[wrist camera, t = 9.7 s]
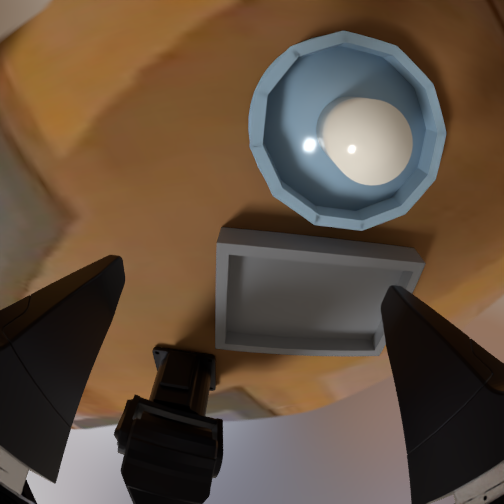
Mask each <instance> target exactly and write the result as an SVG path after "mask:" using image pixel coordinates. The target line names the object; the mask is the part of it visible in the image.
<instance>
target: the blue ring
mask: <svg viewBox="0 0 504 504" xmlns="http://www.w3.org/2000/svg"><path fill="white" fill-rule="evenodd" d="M346 96H353V97H361V98H369V99H376V100H381V101H384V102H387V103H389V104H391V105H392V106H394V107H395V108H397V109H398V110H399V111H400V112H401V113H402V114H403V116H404V117H405V119H406V120H407V122H408V124H409V126H410V129H411V133H412V139H413V147H412V153H411V157H410V159H409V162H408V164H407V165H406V167H405V169H404V170H403V171H402V172H401V173H400V174H399V175H398V176H397V177H396V178H394V179H393V180H391V181H389V182H387V183H384V184H381V185H364V184H360V183H357V182H355V181H353V180H351V179H350V178H348V177H347V176H346V175H345V174H344V173H343V172H342V171H341V170H340V169H339V168H338V167H337V166H336V164H335V163H334V162H333V161H332V160H331V159H330V158H329V157H328V156H327V155H326V153H325V152H324V151H323V150H322V148H321V146H320V144H319V142H318V139H317V134H316V126H317V120H318V117H319V115H320V113H321V111H322V110H323V109H324V107H325V106H326V105H327V104H329V103H330V102H331V101H333V100H335V99H337V98H340V97H346ZM249 138H250V146H249V147H250V149H251V151H252V153H253V155H254V158H255V160H256V163H257V165H258V168H259V169H260V171H261V173H262V175H263V176H264V178H265V180H266V182H267V184H268V186H269V188H270V191H271V193H272V195H273V196H274V197H275V198H277V199H278V200H280V201H281V202H283V203H284V204H286V205H287V206H288V207H290V208H291V209H293V210H294V211H295V212H297V213H298V214H300V215H301V216H303V217H304V218H305V219H307V220H308V221H309V222H311V223H312V224H314V225H318V226H327V227H335V228H343V229H351V230H359V231H363V230H366V229H368V228H371V227H374V226H376V225H379V224H381V223H384V222H387V221H389V220H392V219H394V218H397V217H399V216H402V215H405V214H406V213H407V212H408V211H409V210H410V208H411V207H412V206H413V205H414V204H415V203H416V202H417V201H418V199H419V198H420V197H421V196H422V195H423V194H424V193H425V191H426V190H427V189H428V188H429V187H430V186H431V184H432V183H433V182H434V181H435V180H436V176H437V172H438V168H439V164H440V160H441V156H442V152H443V147H444V143H445V138H446V129H445V124H444V120H443V116H442V112H441V109H440V105H439V101H438V98H437V94H436V91H435V88H434V84H433V83H432V82H431V81H430V80H429V79H428V78H427V76H426V75H425V74H424V73H423V72H422V71H421V70H420V69H419V68H418V67H417V66H416V65H415V64H414V63H413V61H412V60H411V59H410V58H409V57H408V56H407V55H406V54H405V53H404V52H403V51H402V50H401V49H399V48H398V47H397V46H396V45H393V44H390V43H387V42H384V41H380V40H377V39H374V38H370V37H367V36H363V35H360V34H356V33H352V32H348V31H344V30H343V31H340V32H336V33H332V34H329V35H324V36H319V37H315V38H311V39H308V40H306V41H303V42H301V43H298V44H296V45H293V46H290V47H289V48H288V50H287V51H285V52H284V53H283V54H282V55H280V56H279V57H278V58H277V59H276V60H275V61H274V62H273V63H272V64H271V65H270V66H269V67H268V69H267V70H266V71H265V73H264V74H263V76H262V77H261V79H260V81H259V83H258V85H257V87H256V89H255V92H254V95H253V98H252V101H251V105H250V112H249Z"/></svg>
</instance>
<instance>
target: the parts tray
mask: <svg viewBox="0 0 504 504" xmlns="http://www.w3.org/2000/svg"><path fill="white" fill-rule="evenodd" d="M425 264H426V263H425V262H424V261H423V259H422V258H421V257H420V255H419V254H418V252H417V251H416V250H415V249H414V248H410V247H402V246H394V245H386V244H378V243H370V242H361V241H352V240H344V239H335V238H326V237H317V236H307V235H298V234H288V233H278V232H268V231H258V230H248V229H237V228H226V227H221V230H220V233H219V237H218V240H217V252H216V307H215V349H223V350H233V351H244V352H255V353H269V354H285V355H307V356H379V355H380V353H381V352H382V350H383V348H384V346H385V345H386V342H385V335H384V328H383V322H382V316H381V303H382V301H383V299H384V296H385V294H386V292H387V290H388V288H389V286H391V285H397V286H402V287H403V288H405V289H406V290H407V291H409V292H410V293H413V291H414V288H415V286H416V284H417V282H418V280H419V277H420V275H421V273H422V271H423V268H424V266H425Z"/></svg>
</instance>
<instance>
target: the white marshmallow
mask: <svg viewBox="0 0 504 504" xmlns="http://www.w3.org/2000/svg"><path fill="white" fill-rule="evenodd" d="M316 134H317V139H318V142H319V144H320V146H321V148H322V150H323V151H324V152H325V153H326V155H327V156H328V157H329V158H330V159H331V160H332V161H333V162H334V163H335V164H336V166H337V167H338V168H339V169H340V170H341V171H342V172H343V173H344V174H345V175H346V176H347V177H348V178H350V179H351V180H353V181H355V182H357V183H360V184H364V185H381V184H384V183H387V182H389V181H391V180H393V179H394V178H396V177H397V176H398V175H399V174H400V173H401V172H402V171H403V170H404V169H405V167H406V165H407V164H408V162H409V159H410V157H411V153H412V147H413V139H412V133H411V129H410V126H409V124H408V122H407V120H406V119H405V117H404V116H403V114H402V113H401V112H400V111H399V110H398V109H397V108H395V107H394V106H392V105H391V104H389V103H387V102H384V101H381V100H376V99H369V98H361V97H353V96H346V97H340V98H337V99H335V100H333V101H331V102H330V103H329V104H327V105H326V106H325V107H324V109H323V110H322V111H321V113H320V115H319V117H318V120H317V126H316Z"/></svg>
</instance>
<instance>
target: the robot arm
mask: <svg viewBox="0 0 504 504" xmlns="http://www.w3.org/2000/svg"><path fill="white" fill-rule="evenodd" d="M124 284H125V273H124V266H123V260H122V258H121V257H120V256H116V255H108V256H106V257H104V258H102V259H100V260H98V261H96V262H94V263H92V264H90V265H88V266H86V267H84V268H82V269H79V270H77V271H75V272H73V273H71V274H69V275H67V276H65V277H64V278H62V279H60V280H58V281H56V282H54V283H52V284H50V285H48V286H46V287H44V288H42V289H40V290H38V291H37V292H35V293H33V294H31V296H30V295H29V296H27V297H25V298H23V299H22V300H20V301H18V302H16V303H14V304H12V305H10V306H8V307H6V308H4V309H2V310H0V504H37V503H36V500H35V498H34V496H33V494H32V492H31V490H30V487H29V485H28V483H27V480H26V477H27V474H28V471H29V470H30V471H32V472H34V473H36V474H38V475H39V476H41V477H43V478H45V479H47V480H49V481H51V482H53V483H56V480H57V477H58V473H59V469H60V465H61V461H62V457H63V454H64V450H65V447H66V443H67V439H68V437H69V433H70V430H71V426H72V423H73V420H74V417H75V414H76V411H77V408H78V405H79V402H80V400H81V397H82V394H83V391H84V389H85V386H86V383H87V380H88V378H89V375H90V373H91V370H92V367H93V365H94V362H95V360H96V357H97V355H98V353H99V350H100V348H101V345H102V343H103V341H104V338H105V336H106V334H107V331H108V329H109V327H110V324H111V322H112V319H113V317H114V314H115V311H116V307H117V304H118V301H119V298H120V295H121V292H122V290H123V287H124ZM381 316H382V322H383V328H384V335H385V342H386V347H387V352H388V356H389V360H390V364H391V369H392V373H393V378H394V382H395V387H396V392H397V397H398V401H399V407H400V412H401V418H402V424H403V430H404V436H405V443H406V450H407V454H408V455H407V459H408V468H409V477H410V488H411V501H412V504H430V503H432V502H435V501H438V500H440V499H443V498H445V497H448V496H450V495H454V500H455V504H504V363H502V362H501V361H499V360H498V359H497V358H495V357H494V356H493V355H491V354H490V353H489V352H487V351H486V350H485V349H484V348H482V347H481V346H480V345H478V344H477V343H476V342H475V341H473V340H472V339H470V338H469V337H468V336H467V335H466V334H465V333H463V332H462V331H461V330H459V329H458V328H457V327H456V326H454V325H453V324H452V323H450V322H449V321H448V320H447V319H445V318H444V317H443V316H441V315H440V314H439V313H437V312H436V311H435V310H433V309H432V308H431V307H429V306H428V305H427V304H425V303H424V302H422V301H421V300H420V299H418V298H417V297H416V296H414V295H413V294H412V293H410V292H409V291H407V290H406V289H405V288H403V287H402V286H397V285H391V286H389V288H388V290H387V292H386V294H385V296H384V299H383V301H382V303H381ZM153 356H154V360H155V364H156V367H157V371H158V372H157V375H156V378H155V382H154V385H153V388H152V392H151V395H150V399H149V400H147V399H144V398H141V397H140V396H138V395H135V396H134V398H133V399H132V400H127V403H126V406H125V409H124V412H123V414H122V417H121V419H120V421H119V423H118V425H117V427H116V429H115V432H114V436H115V438H116V439H117V441H118V442H117V445H118V453H120V454H123V455H124V458H123V463H122V467H121V474H122V476H123V479H124V482H125V484H126V487H127V489H128V492H129V494H130V497H131V499H132V501H133V504H203V503H204V502H205V500H206V499H207V498H208V497H209V495H210V487H211V482H212V478H216V477H217V475H218V473H219V471H220V468H221V464H222V459H223V420H222V419H218V418H217V419H214V418H210V417H206V416H205V414H206V408H207V401H208V395H209V390H210V391H213V390H215V388H216V358H215V356H213V355H209V354H201V353H194V352H186V351H180V350H173V349H167V348H161V347H154V348H153Z"/></svg>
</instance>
